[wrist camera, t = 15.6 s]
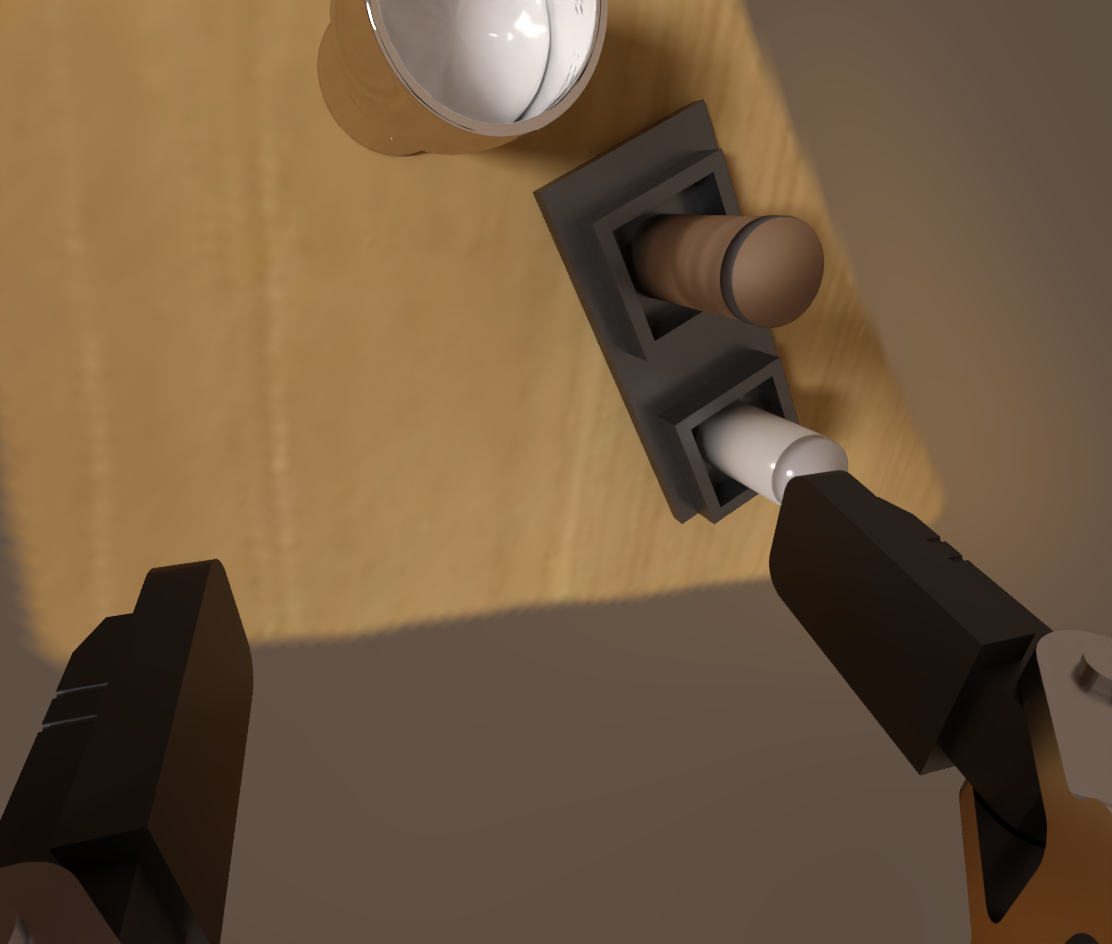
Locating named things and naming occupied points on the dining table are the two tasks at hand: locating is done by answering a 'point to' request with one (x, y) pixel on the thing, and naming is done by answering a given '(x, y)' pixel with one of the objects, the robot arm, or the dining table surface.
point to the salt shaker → (765, 449)
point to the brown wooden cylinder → (728, 265)
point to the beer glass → (455, 69)
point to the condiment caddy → (663, 304)
